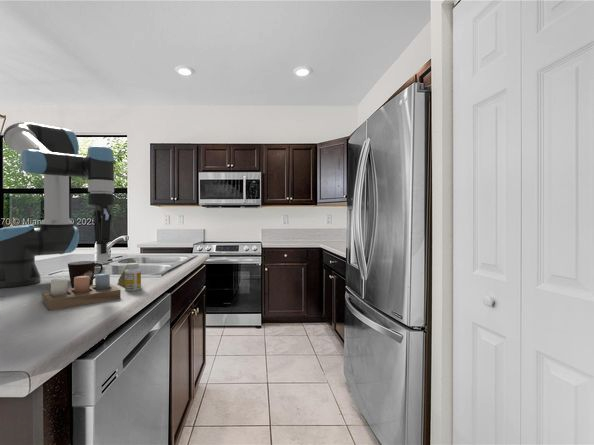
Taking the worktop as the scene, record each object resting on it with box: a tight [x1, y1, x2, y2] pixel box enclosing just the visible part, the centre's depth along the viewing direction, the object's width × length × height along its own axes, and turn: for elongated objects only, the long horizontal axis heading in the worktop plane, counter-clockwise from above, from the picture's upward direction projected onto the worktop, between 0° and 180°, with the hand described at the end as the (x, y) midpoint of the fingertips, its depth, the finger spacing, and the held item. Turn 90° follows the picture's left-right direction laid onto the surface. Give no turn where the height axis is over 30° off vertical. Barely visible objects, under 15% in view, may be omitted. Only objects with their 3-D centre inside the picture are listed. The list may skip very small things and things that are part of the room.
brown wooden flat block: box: [41, 283, 122, 311], centre depth 106 cm, size 14×19×3 cm
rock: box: [116, 259, 138, 287], centre depth 127 cm, size 11×9×10 cm
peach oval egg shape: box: [74, 276, 90, 294], centre depth 106 cm, size 4×4×5 cm
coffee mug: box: [67, 260, 104, 288], centre depth 121 cm, size 12×9×10 cm
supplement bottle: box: [124, 262, 142, 292], centre depth 121 cm, size 5×5×10 cm
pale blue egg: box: [94, 273, 111, 291], centre depth 110 cm, size 4×4×5 cm
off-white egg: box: [50, 277, 69, 297], centre depth 102 cm, size 4×4×5 cm
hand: (102, 262), depth 110 cm, fingers closed
